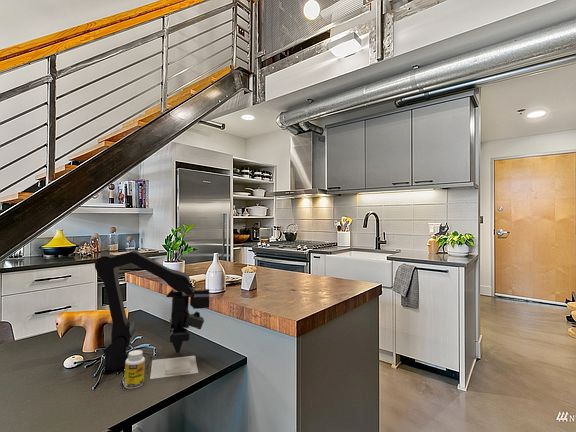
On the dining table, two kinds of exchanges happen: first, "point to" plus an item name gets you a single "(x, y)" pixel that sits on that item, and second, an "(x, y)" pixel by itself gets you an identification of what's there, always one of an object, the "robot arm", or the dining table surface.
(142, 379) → the supplement bottle
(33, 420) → the dining table surface
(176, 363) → the tile
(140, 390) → the dining table surface
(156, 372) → the mat
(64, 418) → the dining table surface
